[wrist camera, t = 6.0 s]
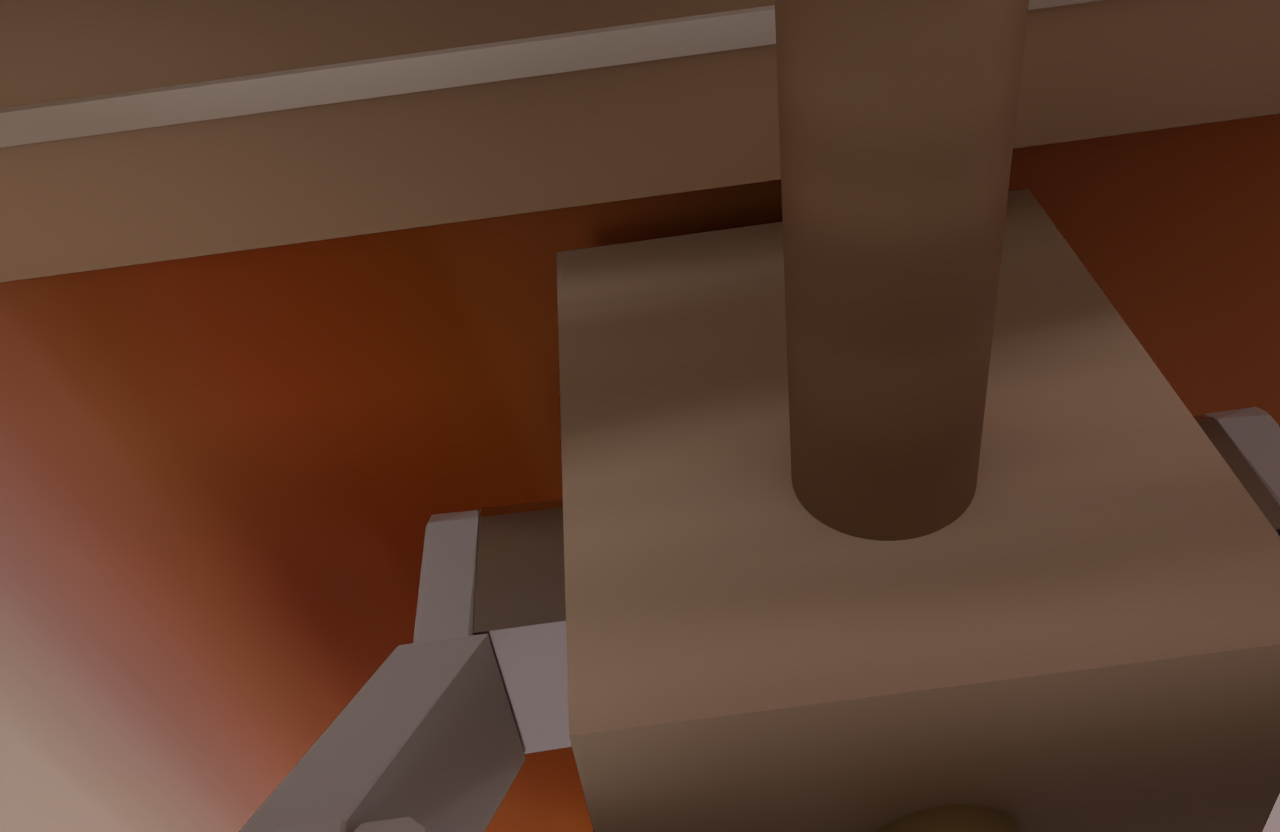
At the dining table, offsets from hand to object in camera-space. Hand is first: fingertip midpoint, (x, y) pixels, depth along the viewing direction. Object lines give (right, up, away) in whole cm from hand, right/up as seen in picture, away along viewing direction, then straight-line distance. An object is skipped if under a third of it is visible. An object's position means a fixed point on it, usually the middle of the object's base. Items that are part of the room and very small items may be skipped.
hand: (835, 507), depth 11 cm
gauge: (-1, +5, -1) cm, 5 cm away
